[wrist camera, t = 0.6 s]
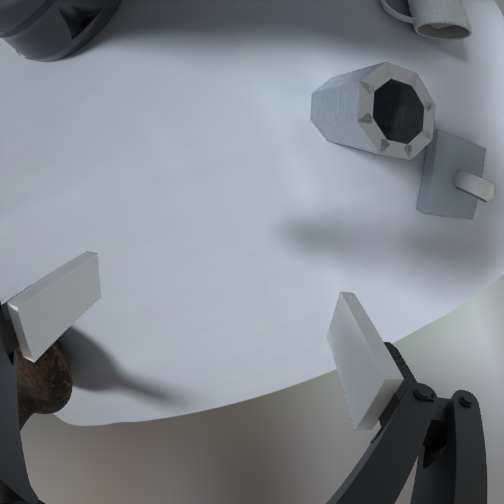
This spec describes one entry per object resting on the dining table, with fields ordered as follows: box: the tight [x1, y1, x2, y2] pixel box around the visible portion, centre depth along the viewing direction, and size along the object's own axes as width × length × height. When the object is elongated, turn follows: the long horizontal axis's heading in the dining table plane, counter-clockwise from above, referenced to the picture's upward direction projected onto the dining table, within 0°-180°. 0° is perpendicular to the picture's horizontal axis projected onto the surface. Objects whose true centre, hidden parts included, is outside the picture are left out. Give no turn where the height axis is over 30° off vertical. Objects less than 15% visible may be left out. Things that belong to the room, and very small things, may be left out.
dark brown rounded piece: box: [16, 342, 72, 431], centre depth 24 cm, size 18×18×28 cm
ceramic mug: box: [380, 0, 472, 40], centre depth 16 cm, size 11×8×8 cm
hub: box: [311, 62, 435, 160], centre depth 21 cm, size 7×7×11 cm
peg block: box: [416, 129, 495, 220], centre depth 27 cm, size 11×11×8 cm
